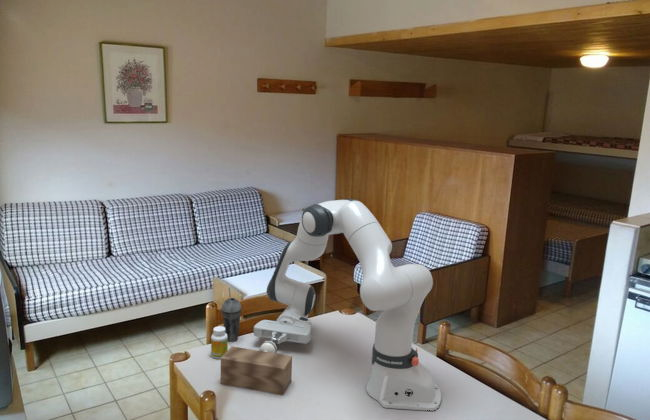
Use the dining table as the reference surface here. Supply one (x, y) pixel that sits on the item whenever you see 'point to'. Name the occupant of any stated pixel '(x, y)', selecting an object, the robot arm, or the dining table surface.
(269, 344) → the knob
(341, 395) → the dining table surface
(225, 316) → the beverage cup
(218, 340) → the supplement bottle
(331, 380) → the dining table surface
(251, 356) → the block
